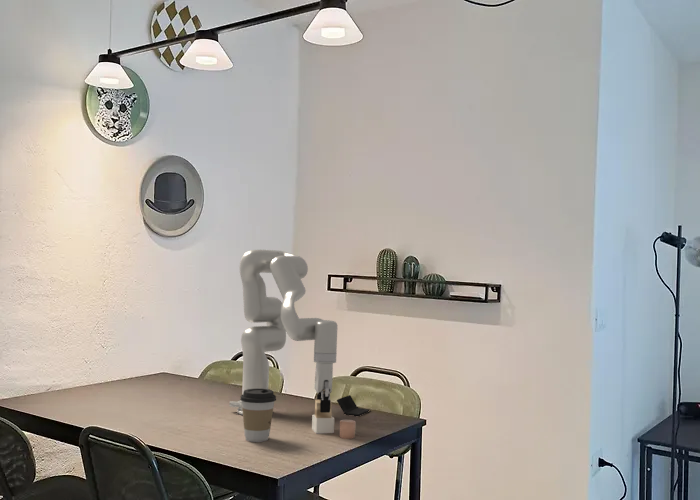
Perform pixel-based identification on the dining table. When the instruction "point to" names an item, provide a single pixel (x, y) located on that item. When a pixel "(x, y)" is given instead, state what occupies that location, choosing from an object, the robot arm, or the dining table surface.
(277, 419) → the dining table surface
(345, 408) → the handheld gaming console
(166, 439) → the dining table surface
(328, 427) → the white block
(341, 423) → the terracotta cylinder
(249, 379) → the robot arm
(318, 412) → the maple cube
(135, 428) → the dining table surface
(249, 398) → the coffee cup
